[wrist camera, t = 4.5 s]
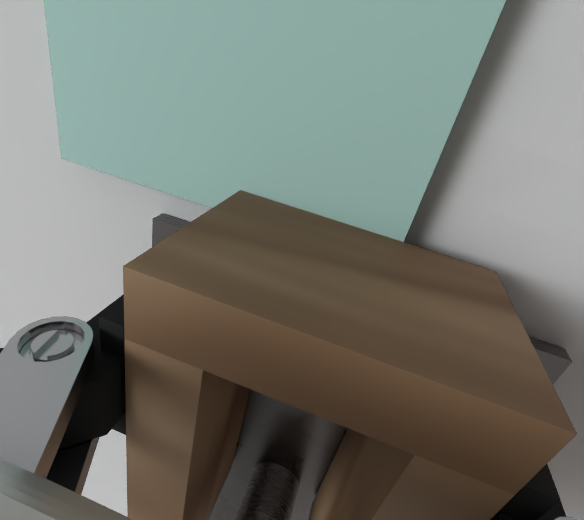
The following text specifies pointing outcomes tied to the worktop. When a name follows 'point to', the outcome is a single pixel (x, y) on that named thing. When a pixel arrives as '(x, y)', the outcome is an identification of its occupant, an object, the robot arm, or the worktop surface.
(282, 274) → the arch block
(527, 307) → the worktop surface
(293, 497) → the stand
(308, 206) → the mat
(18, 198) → the worktop surface
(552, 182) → the worktop surface
